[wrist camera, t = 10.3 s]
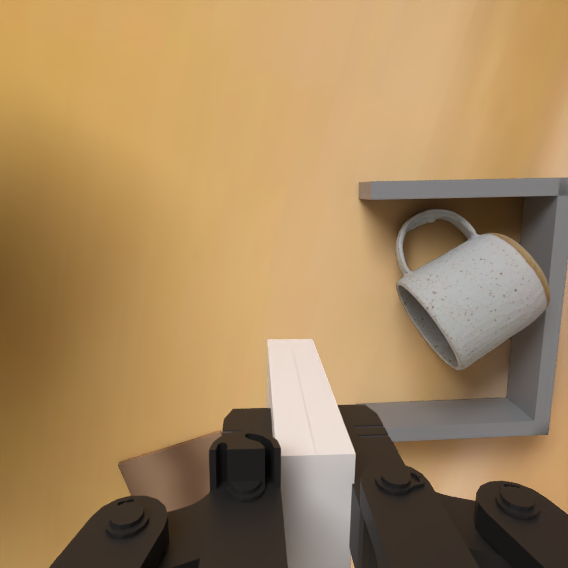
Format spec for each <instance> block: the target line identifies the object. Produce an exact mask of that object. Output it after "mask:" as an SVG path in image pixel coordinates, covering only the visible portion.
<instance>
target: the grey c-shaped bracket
mask: <svg viewBox="0 0 568 568" xmlns="http://www.w3.org/2000/svg"><path fill="white" fill-rule="evenodd" d="M519 196H524V206H523V217H522V229H521V240H520V245H521V246H522V247H523V248H524V249H525V250H526V251H527V252H528V253H529V254H530V255H531V256H532V257H533V259H534V260H535V261H536V263H537V264H538V265H539V267H540V268H541V270H542V272H543V273H544V275H545V277H546V279H547V282H548V285H549V288H550V302H549V305H548V307H547V308H546V309H545V311H544V312H543V313H542V314H541V315H540V316H539V317H538V318H537V319H536V320H535V321H534V322H532V323H531V324H530V325H528V326H527V327H525V328H524V329H522V330H521V331H519V332H518V333H516V334H515V335H513V336H512V342H511V353H510V364H509V375H508V387H507V398H484V399H461V400H437V401H414V402H390V403H366V404H365V405H366V406H367V407H369V408H370V409H372V410H373V411H374V412H376V413H377V414H378V416H379V418H380V420H381V421H382V423H383V427H385V429H386V431H387V433H388V436H389V437H390V438H391V440H392V442H400V441H422V440H443V439H465V438H486V437H508V436H530V435H548V431H549V422H550V413H551V404H552V395H553V386H554V377H555V368H556V360H557V351H558V342H559V333H560V324H561V315H562V306H563V297H564V288H565V279H566V270H567V261H568V178H524V179H475V180H425V181H376V182H361V183H359V199H368V200H383V199H428V198H474V197H519ZM356 405H364V404H356Z"/></svg>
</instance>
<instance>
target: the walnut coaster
mask: <svg viewBox="0 0 568 568" xmlns="http://www.w3.org/2000/svg"><path fill="white" fill-rule="evenodd" d="M221 436H222V432H221V430H220V431H217V432H214V433H211V434H208V435H205V436H201V437H198V438H195V439H192V440H189V441H185V442H182V443H179V444H176V445H173V446H170V447H166V448H163V449H160V450H157V451H154V452H151V453H147V454H144V455H141V456H138V457H135V458H131V459H128V460H125V461H122V462H119V464H118V466H119V469H120V471H121V473H122V475H123V478H124V480H125V482H126V484H127V487H128V489H129V491H130V493H131V496H149V497H152V498H156V499H158V500H159V501H160V502H161V503H163V504H164V505H165V506H166V510H167V512H169V511H173V510H177V509H180V508H184V507H186V506H189V505H192V504H194V503H196V502H197V501H199V500H201V499H202V498H204V497H205V496H206V495H207V494H208V493H209V492H210V474H209V449H210V447H211V445H212V443H213V442H214V441H215V440H217V439H218V438H219V437H221Z"/></svg>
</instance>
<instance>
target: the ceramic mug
mask: <svg viewBox="0 0 568 568" xmlns="http://www.w3.org/2000/svg"><path fill="white" fill-rule="evenodd" d="M436 219H442V220H445V221H448V222H451V223H452V224H453V225H454V226H456V227H458V229H459V230H460V231H461V232H462V233H463V234H464V235H465V236H466V237H467V239H468V240H467V241H466V242H464V243H462V244H460V245H459V246H457V247H455V248H454V249H452V250H450V251H448V252H447V253H446V254H444V255H442V256H440V257H439V258H437V259H435V260H433V261H431V262H429V263H427V264H425V265H424V266H422V267H420V268H418V269H417V270H415V271H411V270H409V268H408V267H407V265H406V260H405V257H404V253H403V242H404V237H405V235H406V233H407V232H408V231H411V230H413V229H415V228H417V227H418V226H421V225H423V224H426V223H433V222H434V221H436ZM395 254H396V259H397V263H398V265H399V268H400V271H401V273H402V275H403V277H402V278H401V279H399V280H398V281H397V283H396V287H397V292H398V295H399V298H400V300H401V302H402V304H403V305H404V308H405V310H406V312H407V313H408V315H409V317H410V318H411V320H412V321H413V323H414V325H415V326H416V327H417V329H418V331H419V332H420V333H421V335H422V336H423V337H424V339H425V340H426V341H427V343H428V344H429V345H430V347H431V348H432V349H433V350H434V351H435V352H436V353H437V354H438V356H439V357H440V358H441V359H443V360H444V362H446V363H447V364H448V365H449V366H451V367H452V368H454V369H456V370H458V371H459V370H463V369H465V368H467V367H468V366H470V365H471V364H473V363H474V362H475V361H477V360H478V359H480V358H481V357H483V356H484V355H486V354H487V353H489V352H490V351H492V350H493V349H495V348H496V347H498V346H499V345H501V344H502V343H503V342H505V341H506V340H507V339H509V338H510V337H512V336H513V335H515V334H516V333H518V332H519V331H521V330H522V329H524V328H525V327H527V326H528V325H530V324H531V323H532V322H534V321H535V320H536V319H537V318H538V317H539V316H540V315H541V314H542V313H543V312H544V311H545V309H546V308H547V307H548V305H549V302H550V288H549V285H548V282H547V279H546V277H545V275H544V273H543V272H542V270H541V268H540V267H539V265H538V264H537V263H536V261H535V260H534V259H533V257H532V256H531V255H530V254H529V253H528V252H527V251H526V250H525V249H524V248H523V247H522V246H521V245H520V244H518V243H517V242H516V241H514V240H513V239H511V238H509V237H508V236H505V235H502V234H498V233H486V234H482V235H478V234H477V233H476V231H475V229H474V228H473V227H472V225H471V224H470V223H469V222H468V221H467V220H466V219H465V218H463V217H462V216H460V215H459V214H457V213H455V212H453V211H450V210H445V209H430V210H426V211H423V212H420V213H418V214H416V215H414V216H412V217H411V218H410V219H408V220H407V221H406V222H405V223H404V224H403V226H402V227H401V229H400V231H399V233H398V236H397V239H396V245H395Z"/></svg>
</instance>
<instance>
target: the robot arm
mask: <svg viewBox="0 0 568 568" xmlns="http://www.w3.org/2000/svg"><path fill="white" fill-rule="evenodd" d="M209 474H210V492H209V493H208V494H207V495H206V496H205V497H204V498H202V499H201V500H199V501H197V502H196V503H194V504H192V505H189V506H186V507H184V508H180V509H177V510H173V511H169V512H167V510H166V506H165V505H164V504H163V503H161V502H160V501H159V500H158V499H156V498H152V497H149V496H129V497H125V498H121V499H117V500H115V501H113V502H111V503H109V504H107V505H105V506H103V507H102V508H101V509H100V510H98V511H97V512H96V513H95V514H94V515H93V516H92V517H91V518H90V519H89V520H88V522H87V523H86V524H85V525H84V526H83V528H82V529H81V530H80V531H79V532H78V534H77V535H76V536H75V537H74V538H73V540H72V541H71V542H70V543H69V544H68V546H67V547H66V548H65V549H64V550H63V552H62V553H61V554H60V555H59V556H58V558H57V559H56V560H55V561H54V562H53V564H52V565H51V566H50V567H49V568H350V565H351V555H352V559H353V563H354V567H355V568H568V514H566V513H565V512H564V511H563V510H561V509H560V508H559V507H557V506H556V505H555V504H554V503H552V502H551V501H550V500H548V499H547V498H546V497H544V496H543V495H541V494H539V493H538V492H536V491H534V490H533V489H530V488H528V487H525V486H522V485H520V484H517V483H513V482H506V481H493V482H488V483H486V484H483V485H481V486H480V488H479V489H478V491H477V493H476V501H473V500H467V499H462V498H457V497H451V496H447V495H443V494H440V493H437V492H435V491H434V489H433V487H432V486H431V484H430V482H429V481H428V480H427V479H426V478H425V477H424V476H423V474H421V473H420V472H418V471H416V470H415V469H413V468H411V467H408V466H405V464H404V462H403V460H402V459H401V457H400V455H399V453H398V451H397V449H396V447H395V446H394V444H393V442H392V440H391V438H390V437H389V436H388V433H387V431H386V429H385V427H383V423H382V421H381V420H380V418H379V416H378V414H377V413H376V412H374V411H373V410H372V409H370V408H369V407H367V406H366V405H365V404H364V405H337V403H336V400H335V398H334V395H333V392H332V390H331V387H330V384H329V382H328V379H327V376H326V374H325V371H324V368H323V366H322V363H321V360H320V358H319V355H318V352H317V350H316V347H315V344H314V342H313V339H268V340H267V408H251V409H233V410H232V411H231V412H230V413H229V414H228V415H227V416H226V417H225V419H224V423H223V431H222V436H221V437H219V438H218V439H217V440H215V441H214V442H213V443H212V445H211V447H210V449H209Z"/></svg>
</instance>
